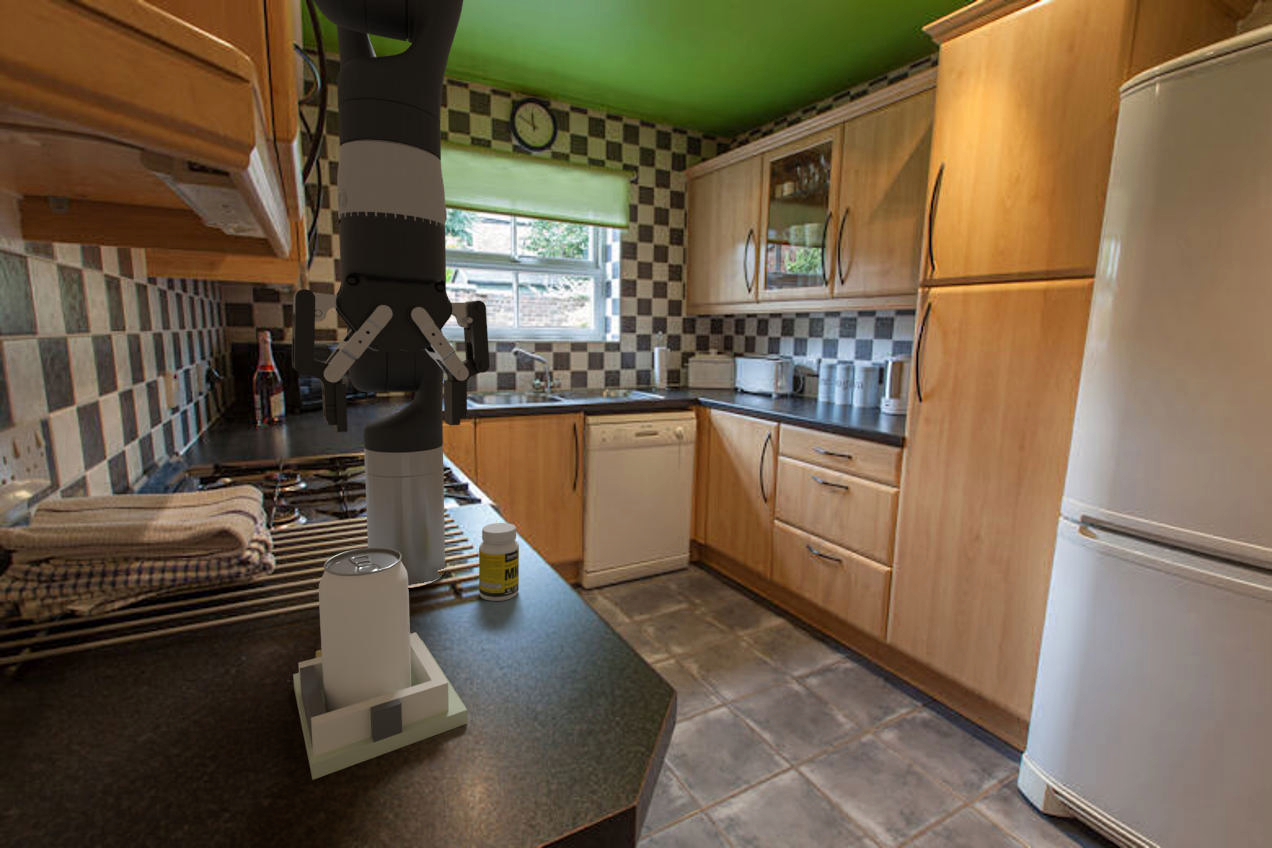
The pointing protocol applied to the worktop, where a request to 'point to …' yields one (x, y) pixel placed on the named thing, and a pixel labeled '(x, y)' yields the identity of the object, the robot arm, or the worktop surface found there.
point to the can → (364, 626)
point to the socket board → (375, 714)
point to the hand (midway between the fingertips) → (399, 427)
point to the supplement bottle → (498, 562)
